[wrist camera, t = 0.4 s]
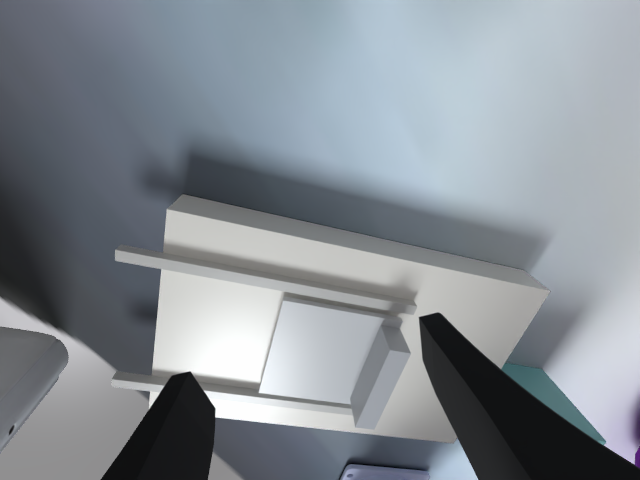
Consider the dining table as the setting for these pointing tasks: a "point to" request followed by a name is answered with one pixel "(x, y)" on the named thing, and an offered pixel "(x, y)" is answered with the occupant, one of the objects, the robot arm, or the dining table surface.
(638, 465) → the decorative plant
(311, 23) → the dining table surface
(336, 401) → the shutter
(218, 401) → the socket plate
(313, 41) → the dining table surface
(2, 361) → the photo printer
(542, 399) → the plug
